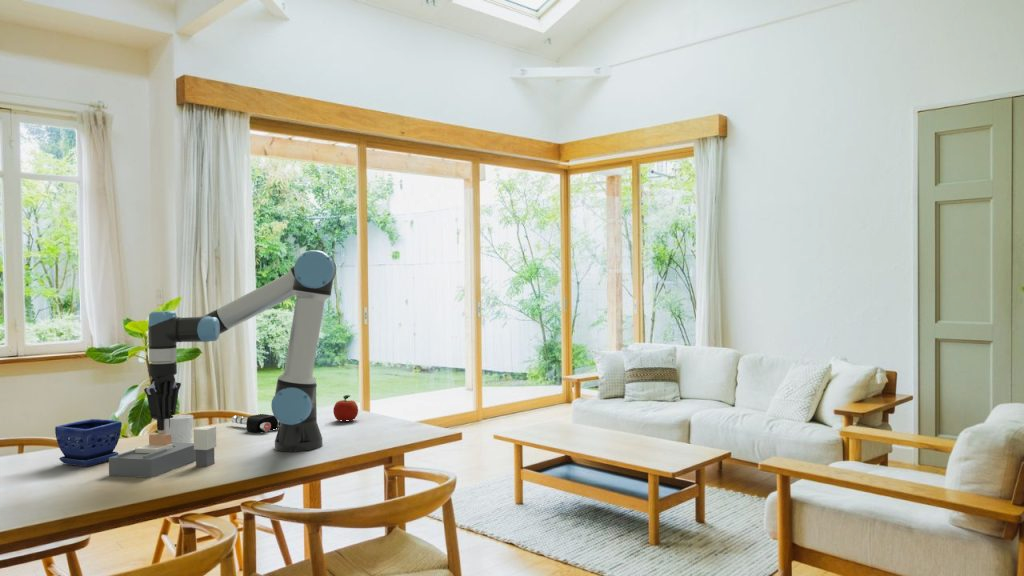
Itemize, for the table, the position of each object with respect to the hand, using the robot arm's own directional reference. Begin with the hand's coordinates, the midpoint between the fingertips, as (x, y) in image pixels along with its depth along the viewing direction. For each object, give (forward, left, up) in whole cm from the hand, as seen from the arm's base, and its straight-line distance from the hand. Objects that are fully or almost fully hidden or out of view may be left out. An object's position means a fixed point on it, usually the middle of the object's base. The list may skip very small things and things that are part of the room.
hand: (163, 440), depth 208 cm
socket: (0, +4, -7) cm, 8 cm away
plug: (-13, -1, -7) cm, 15 cm away
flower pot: (+25, +2, -7) cm, 26 cm away
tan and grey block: (0, +4, -2) cm, 5 cm away
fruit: (-25, -70, -7) cm, 75 cm away
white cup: (+11, -21, -7) cm, 25 cm away
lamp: (+4, -52, -7) cm, 52 cm away
